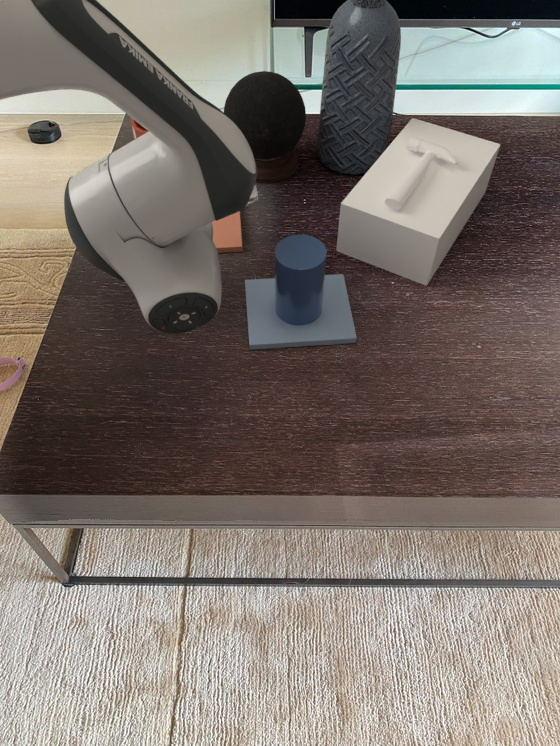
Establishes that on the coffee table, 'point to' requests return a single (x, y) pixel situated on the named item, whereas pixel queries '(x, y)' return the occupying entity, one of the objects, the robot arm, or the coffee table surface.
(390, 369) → the coffee table surface
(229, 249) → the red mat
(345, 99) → the vase
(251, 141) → the black ball on stand
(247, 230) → the coffee table surface
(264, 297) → the blue mat
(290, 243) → the navy blue cylinder
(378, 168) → the hammer relief block
